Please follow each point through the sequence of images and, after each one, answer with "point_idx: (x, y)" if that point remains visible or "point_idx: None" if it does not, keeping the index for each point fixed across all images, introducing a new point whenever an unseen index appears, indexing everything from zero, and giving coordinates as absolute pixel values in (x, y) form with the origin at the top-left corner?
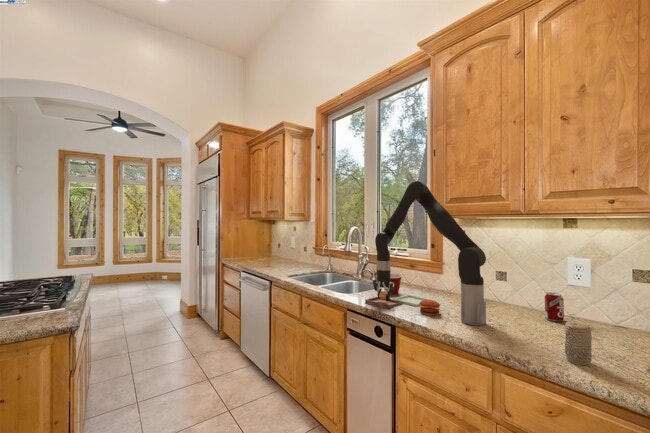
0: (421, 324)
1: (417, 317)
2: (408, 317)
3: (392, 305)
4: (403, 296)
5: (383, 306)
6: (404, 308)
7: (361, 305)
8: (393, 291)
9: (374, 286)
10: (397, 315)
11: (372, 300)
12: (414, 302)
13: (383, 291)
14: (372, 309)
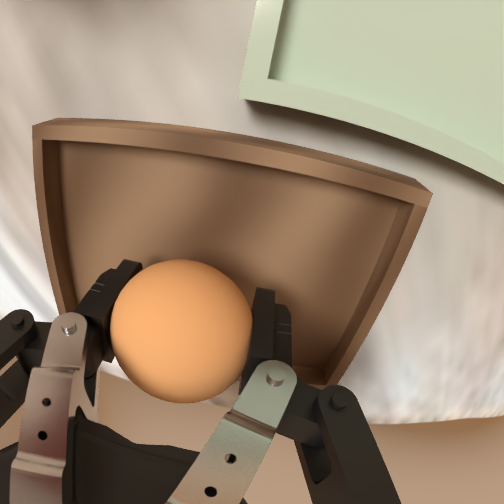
0: (493, 412)
1: (500, 371)
2: (460, 396)
3: (352, 354)
4: None
5: None
6: (446, 273)
7: (111, 368)
8: (363, 415)
9: (8, 396)
10: (406, 408)
11: (66, 250)
12: (499, 37)
13: (170, 398)
14: (224, 404)
